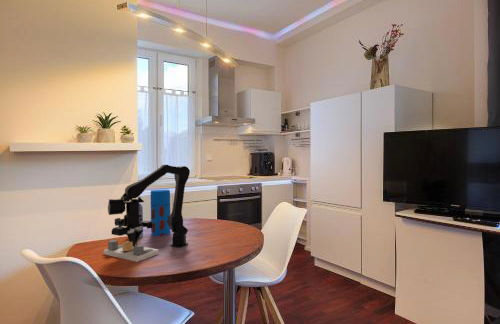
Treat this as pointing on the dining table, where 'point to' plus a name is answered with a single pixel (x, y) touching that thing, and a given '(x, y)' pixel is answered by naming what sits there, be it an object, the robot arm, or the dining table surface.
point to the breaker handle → (127, 245)
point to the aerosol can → (141, 217)
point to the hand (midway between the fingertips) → (133, 246)
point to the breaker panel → (133, 255)
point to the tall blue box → (160, 212)
